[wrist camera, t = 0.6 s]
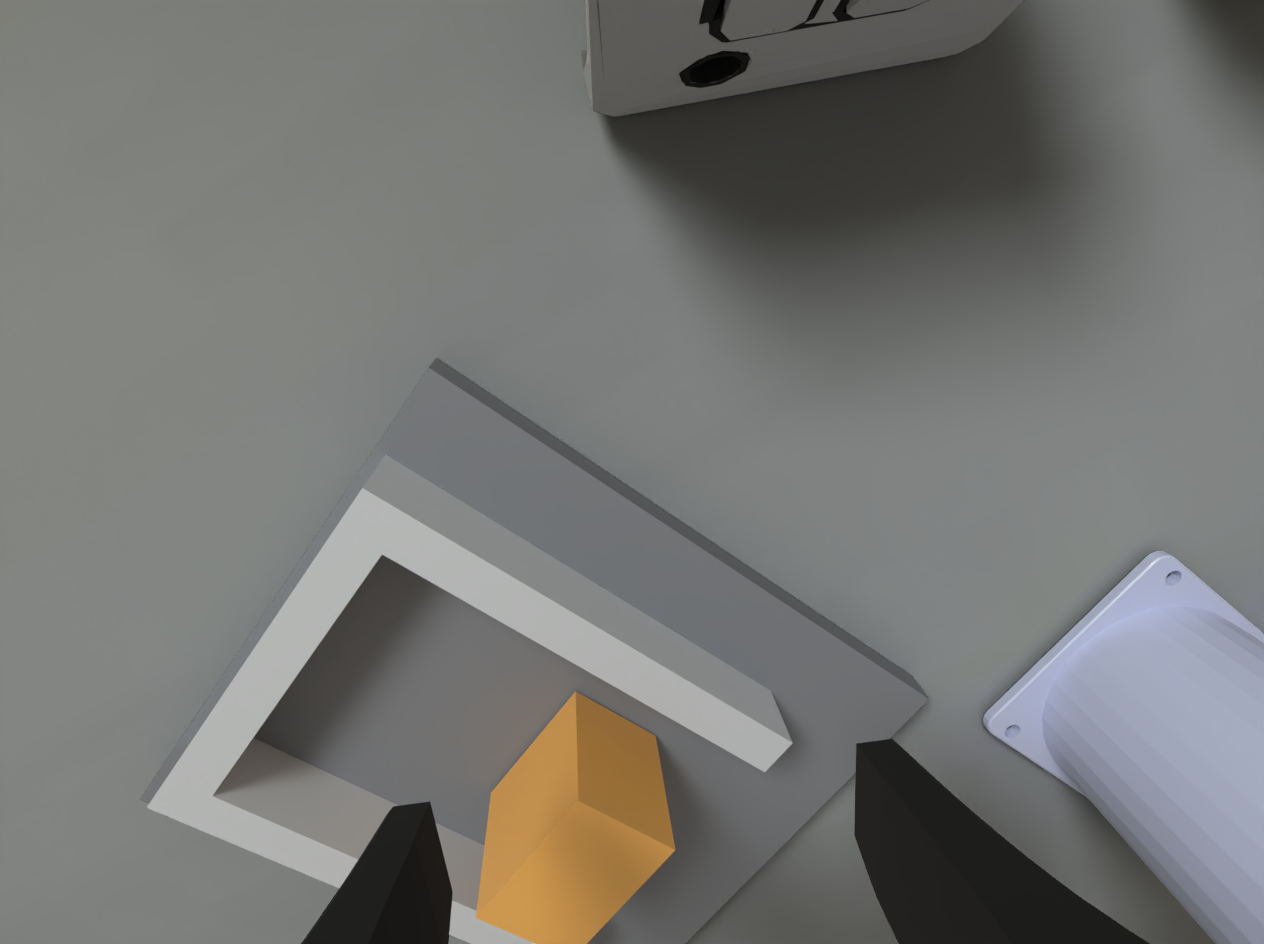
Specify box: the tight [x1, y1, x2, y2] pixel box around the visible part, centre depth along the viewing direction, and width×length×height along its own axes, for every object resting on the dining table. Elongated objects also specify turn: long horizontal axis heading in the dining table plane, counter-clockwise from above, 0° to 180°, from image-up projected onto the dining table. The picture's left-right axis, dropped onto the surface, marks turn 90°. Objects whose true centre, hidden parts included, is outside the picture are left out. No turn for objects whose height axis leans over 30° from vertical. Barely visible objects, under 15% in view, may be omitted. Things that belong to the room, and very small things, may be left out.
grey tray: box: [140, 358, 929, 944], centre depth 22 cm, size 18×16×4 cm
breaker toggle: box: [476, 691, 675, 944], centre depth 20 cm, size 3×4×4 cm, turn 143°
